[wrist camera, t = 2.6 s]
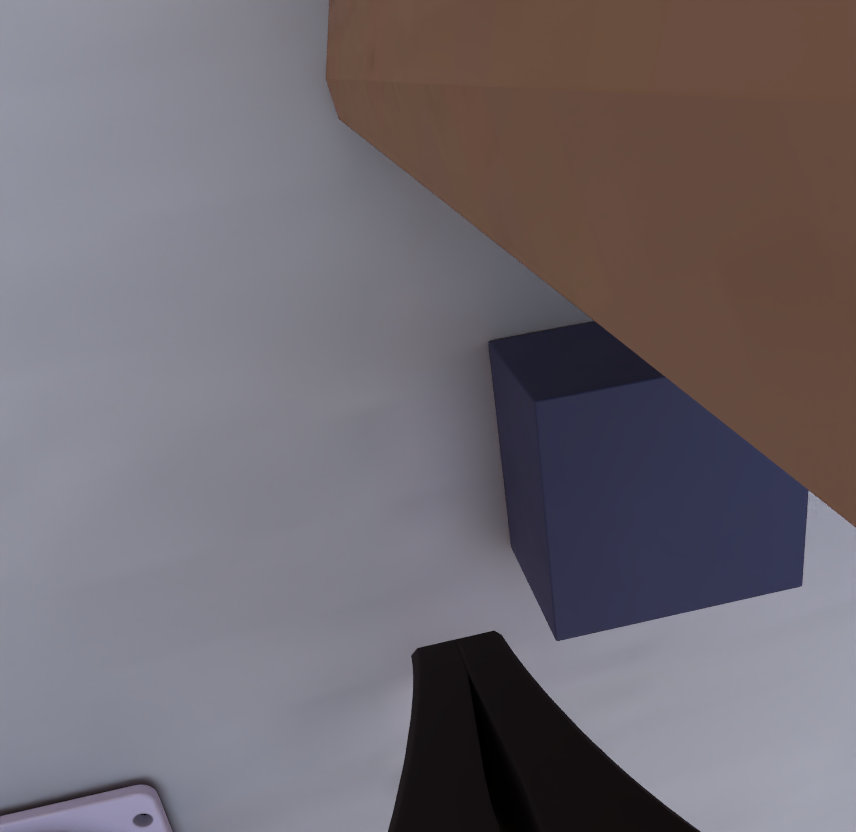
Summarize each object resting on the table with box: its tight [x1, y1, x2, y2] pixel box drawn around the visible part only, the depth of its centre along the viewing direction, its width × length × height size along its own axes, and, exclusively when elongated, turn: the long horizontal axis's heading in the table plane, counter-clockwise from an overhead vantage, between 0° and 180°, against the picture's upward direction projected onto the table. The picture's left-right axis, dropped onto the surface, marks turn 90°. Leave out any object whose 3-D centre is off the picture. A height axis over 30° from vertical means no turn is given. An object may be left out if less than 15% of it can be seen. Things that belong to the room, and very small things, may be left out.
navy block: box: [489, 322, 808, 641], centre depth 19 cm, size 6×6×4 cm
